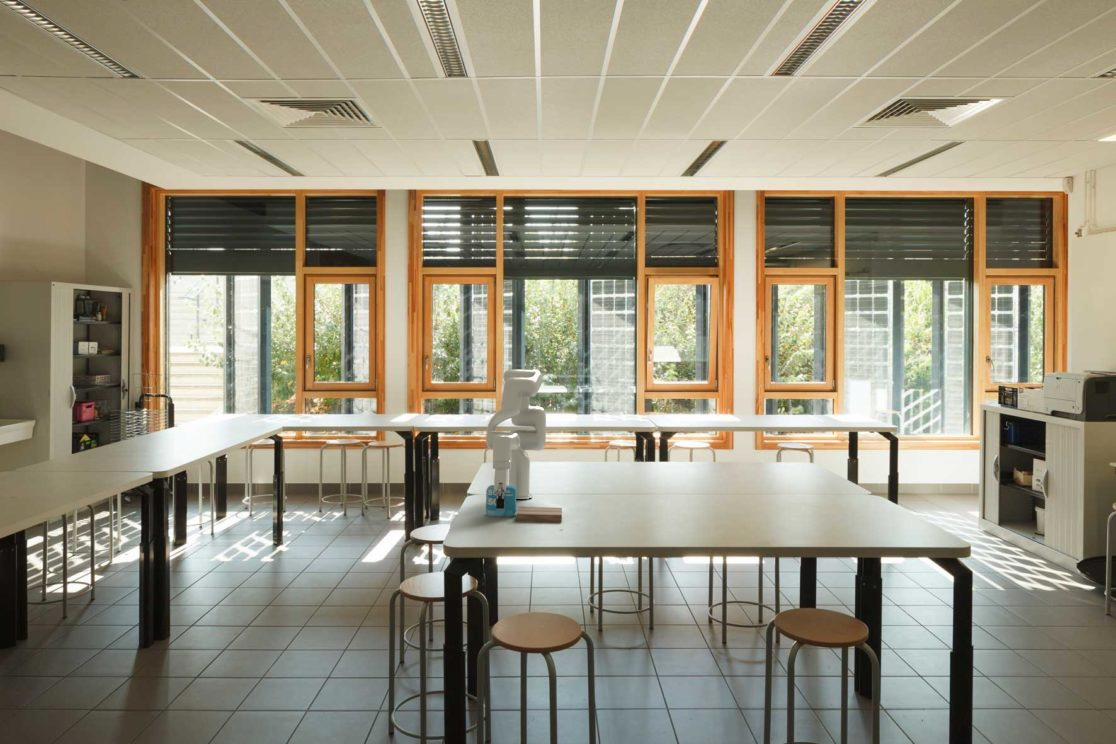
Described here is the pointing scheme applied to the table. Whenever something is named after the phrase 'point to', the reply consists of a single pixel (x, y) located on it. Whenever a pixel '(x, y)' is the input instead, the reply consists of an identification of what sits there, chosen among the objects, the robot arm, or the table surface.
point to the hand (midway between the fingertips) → (501, 506)
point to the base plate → (539, 514)
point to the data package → (508, 502)
